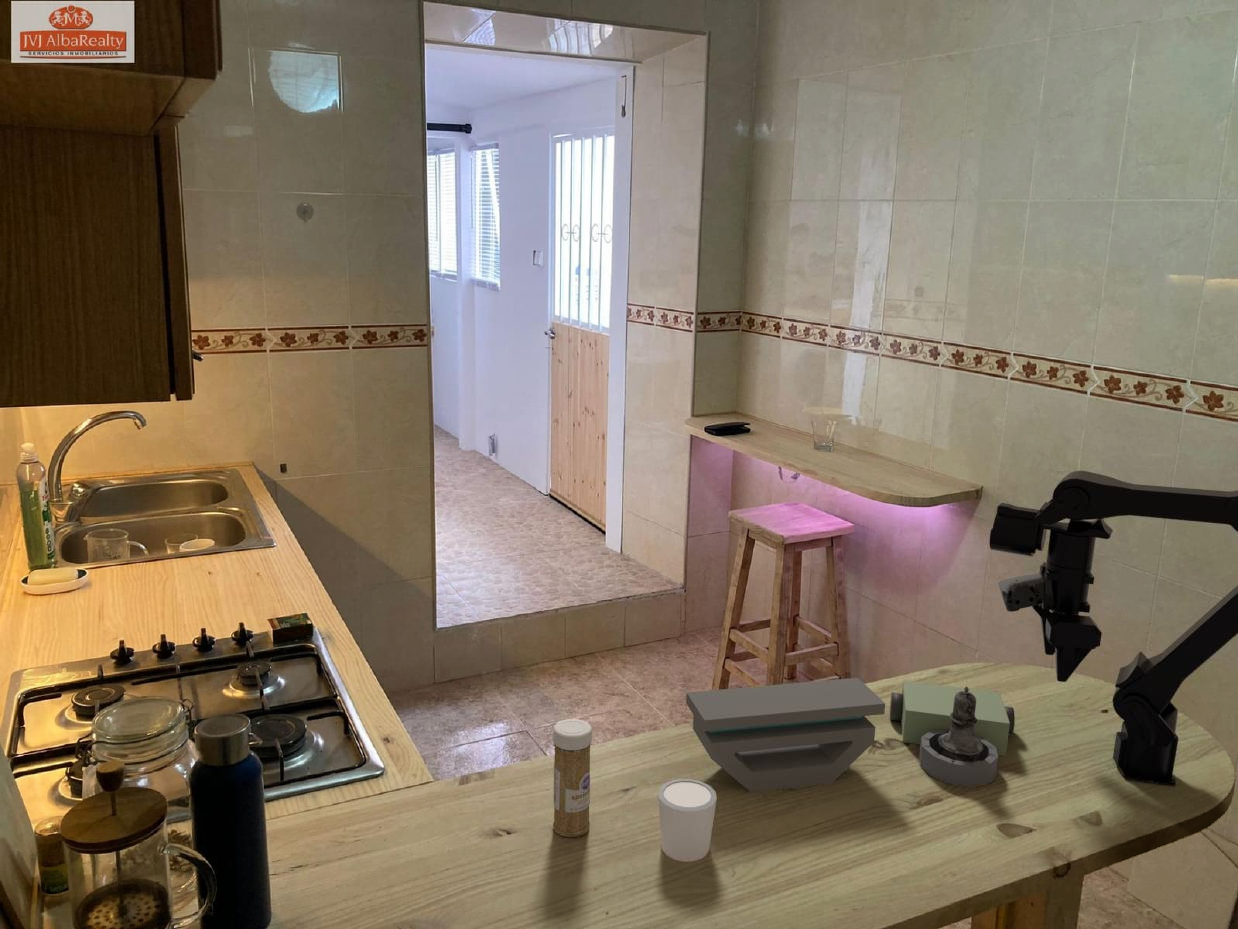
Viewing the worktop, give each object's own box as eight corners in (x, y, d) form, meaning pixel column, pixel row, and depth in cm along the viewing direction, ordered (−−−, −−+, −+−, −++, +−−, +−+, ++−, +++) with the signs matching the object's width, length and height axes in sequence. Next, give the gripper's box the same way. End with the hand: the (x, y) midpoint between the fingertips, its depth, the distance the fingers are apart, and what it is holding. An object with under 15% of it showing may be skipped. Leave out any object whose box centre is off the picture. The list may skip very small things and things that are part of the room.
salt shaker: (941, 777, 130) (950, 695, 127) (930, 755, 136) (939, 676, 133) (986, 779, 130) (995, 697, 127) (973, 757, 135) (982, 678, 133)
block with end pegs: (1007, 724, 145) (1011, 693, 144) (1029, 795, 126) (1033, 760, 125) (889, 709, 149) (892, 679, 148) (893, 776, 130) (896, 742, 129)
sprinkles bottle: (582, 842, 114) (584, 739, 111) (546, 834, 115) (547, 732, 112) (595, 821, 118) (597, 720, 115) (560, 813, 120) (561, 714, 117)
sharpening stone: (852, 748, 137) (858, 677, 135) (878, 778, 130) (885, 703, 127) (683, 766, 131) (686, 692, 129) (700, 797, 124) (704, 720, 122)
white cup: (697, 872, 109) (699, 817, 108) (645, 851, 113) (646, 798, 111) (724, 842, 115) (726, 789, 113) (673, 823, 118) (675, 771, 117)
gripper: (998, 538, 144) (986, 635, 147) (1017, 578, 126) (1003, 688, 130) (1078, 545, 141) (1065, 644, 145) (1109, 587, 123) (1093, 699, 127)
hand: (1055, 667), depth 137 cm, fingers open, 9 cm apart
